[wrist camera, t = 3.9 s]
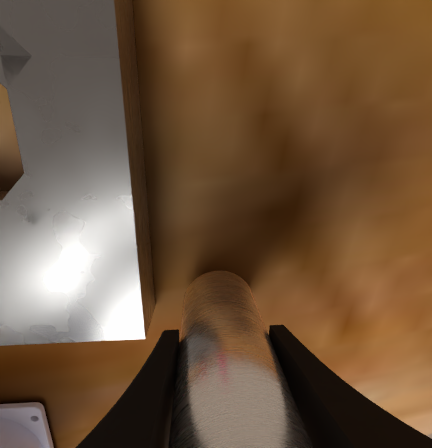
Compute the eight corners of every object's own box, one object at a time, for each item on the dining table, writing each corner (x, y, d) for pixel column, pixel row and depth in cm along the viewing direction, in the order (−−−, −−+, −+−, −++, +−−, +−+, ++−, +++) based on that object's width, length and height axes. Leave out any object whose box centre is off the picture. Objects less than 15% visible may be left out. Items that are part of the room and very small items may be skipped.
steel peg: (251, 330, 15) (325, 571, 6) (185, 333, 15) (164, 590, 6) (253, 269, 14) (347, 457, 5) (182, 271, 14) (153, 473, 5)
